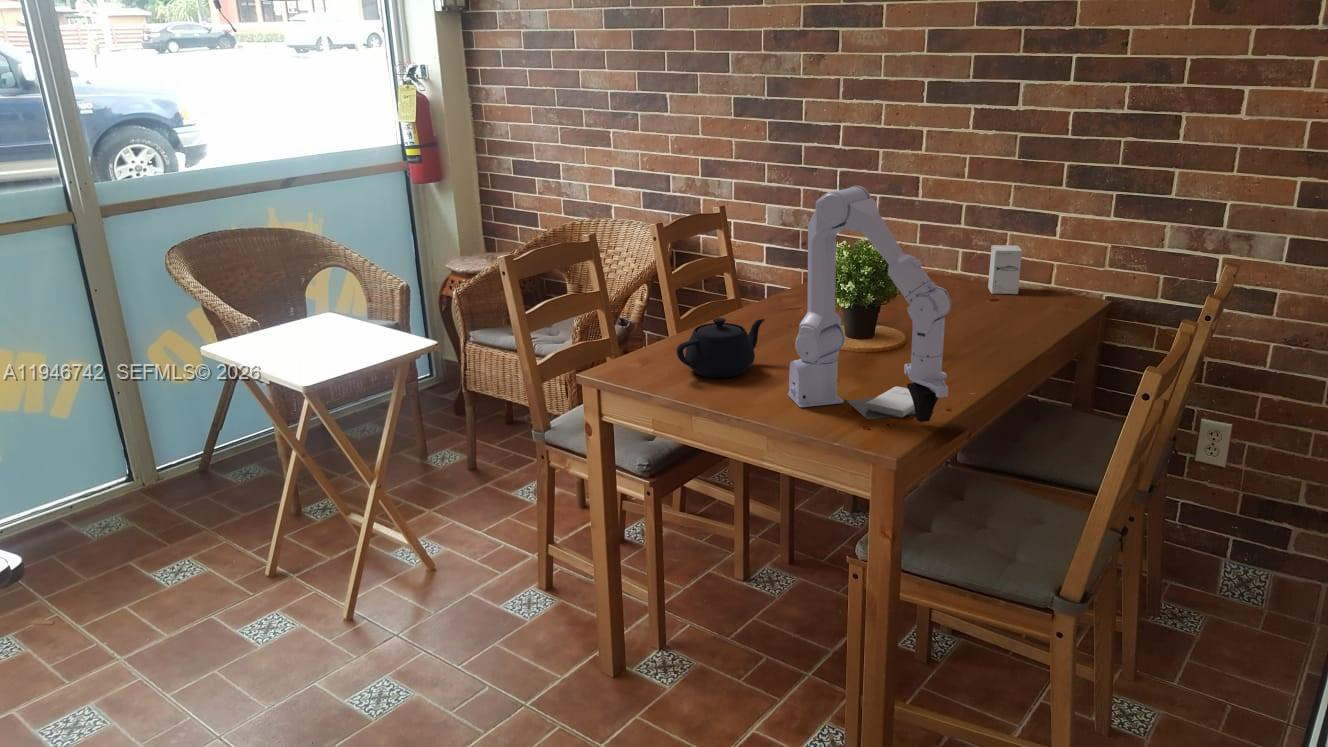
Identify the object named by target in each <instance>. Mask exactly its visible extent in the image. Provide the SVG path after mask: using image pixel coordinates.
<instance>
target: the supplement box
mask: <svg viewBox="0 0 1328 747" xmlns="http://www.w3.org/2000/svg"><path fill="white" fill-rule="evenodd" d="M990 248H991V249H990V261H989V262H990V263H989V272H988V282H987V283H988V285H987V287H988V290H989V292H990V293H991V294H992V295H993V294H994V295H995V294H999V295H1000V294H1001V295H1002V294H1003V295H1006V294H1007V295H1019V289H1020V287H1019V286H1020V278H1021V277H1020V276H1021V274H1020V273H1021V266H1022V254H1023V250H1022V249H1021V248H1020V246H1019V245H1010V244H1009V245H1006V244H1005V245H1004V244H1003V245H1001V244H1000V245H999V244H995V245H994V244H993V245H991V247H990Z"/></svg>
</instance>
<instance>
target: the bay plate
mask: <svg viewBox="0 0 1328 747" xmlns="http://www.w3.org/2000/svg"><path fill="white" fill-rule="evenodd" d="M876 397H877V396H875V397H869V398H868V397H867V398H857V399H849V400H846V402H847V403H848V404H849V405H850V406H851V407H853V408H854V410H855V411H857V412H858V413H859V414H860V415H861V416H862V417H864V418H865V419H866V420H868V421H871V420H878V419H888V418H895V417H896V416H891V415H887V414H883V413H878V412H874V411H870V410H867V409H866V403H867V402H869V401H871V400H872V399H874V398H876ZM907 415H908V416H914V415H915V410H914V411H912V412H910V413H909V414H907ZM915 416H916V415H915Z"/></svg>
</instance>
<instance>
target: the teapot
mask: <svg viewBox="0 0 1328 747" xmlns="http://www.w3.org/2000/svg"><path fill="white" fill-rule="evenodd" d="M712 321H713V322H710V323H707V324H706V323H705V324H701V325H698V326H696V327H695V328H694V329H693V331H692V333H691V336H690V337H689V339H688V341H685V342H682V343H680V344H678V346H677V348H676V354H677V358H678V359H679V361H680V362H681V363H682V364H684V365H685V366H687V367H689V368H690V369H691V370H692V371H693V372H695V374H697V375H699V376H701V377H706V378H711V379H712V378H713V379H724V378H726V379H727V378H733V377H736V376H737V377H738V376H741V375H742V374H744V373H745V372H746V370H748V369H749V368H750V367H751V366H752V365H753V364H754V362H755V358H756V356H755V355H756V354H755V348H756V346H757V343H758V336H759V330H760V327H761V325H762V324H763V323H764V322H765V321H766V319H765V318H761V319H757V320H755V321H754V322H753V324H752V325H751V328H750V331H749V332H747V330H746V329H745V328H744V327H743V326H742V325H739V324H736V323H730V322H729V323H728V322H726V321H727V320H726V318H725V317H716V318H713V319H712ZM684 350H685V353H684Z"/></svg>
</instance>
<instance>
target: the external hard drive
mask: <svg viewBox="0 0 1328 747" xmlns="http://www.w3.org/2000/svg"><path fill="white" fill-rule="evenodd" d="M875 397H876V398H875ZM875 397H873V398H874V399H872V400H871V401H869V402H867V403H866V409H867V410H870V411H874V412H878V413H883V414H887V415H891V416H896V417H897V418H904V417H906V415H907V414H909V413H910V412H912V411H914V410H915V409H914V404H913V400H912V397H911V394H910V392H909V390H908V388H907V387H902V386H894V387H892V388H890V389H888V390H887V391H885V392H883V393H881V394H879V395H877V396H875Z"/></svg>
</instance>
